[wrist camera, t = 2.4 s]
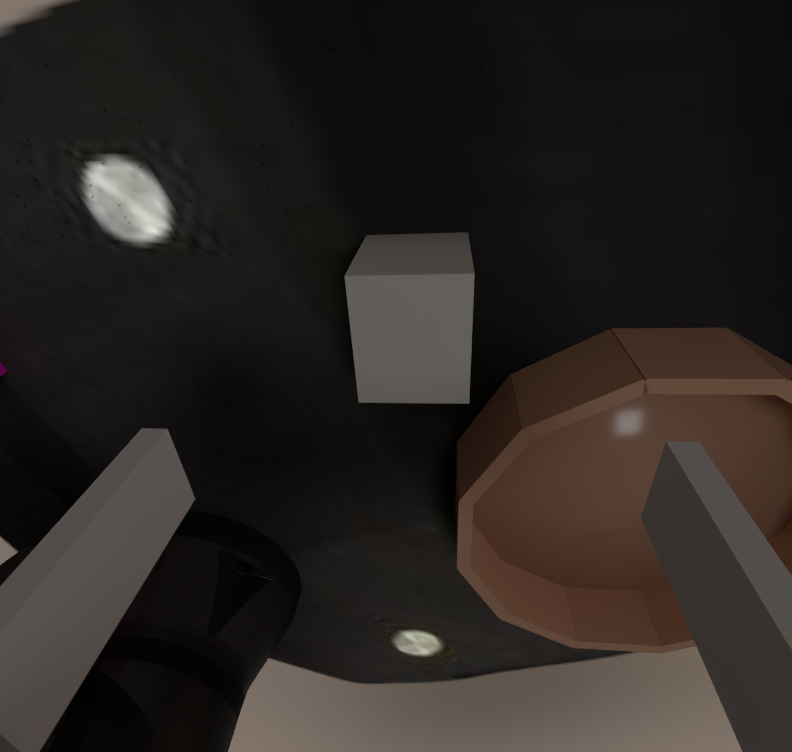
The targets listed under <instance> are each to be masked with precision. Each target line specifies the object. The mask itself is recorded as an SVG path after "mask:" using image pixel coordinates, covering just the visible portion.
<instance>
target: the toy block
mask: <svg viewBox="0 0 792 752" xmlns="http://www.w3.org/2000/svg"><path fill="white" fill-rule="evenodd" d="M6 372H7V370H6V369H5V368H4V366H3V365H2V364H1V362H0V376H2V375H3V374H5V373H6Z"/></svg>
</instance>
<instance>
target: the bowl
mask: <svg viewBox="0 0 792 752" xmlns="http://www.w3.org/2000/svg"><path fill="white" fill-rule="evenodd" d="M666 441H685V442H699V443H700V444H701V445H702V447H703V448H704V450H705V451H706V453H707V454H708V456H709V457H710V458H711V460H712V461H713V463H714V464H715V466H716V467H717V469H718V470H719V471H720V473H721V474H722V476H723V477H724V479H725V480H726V482H727V483H728V484H729V486H730V487H731V489H732V490H733V492H734V493H735V495H736V496H737V498H738V499H739V500H740V502H741V503H742V505H743V506H744V508H745V509H746V511H747V512H748V513H749V515H750V516H751V518H752V519H753V521H754V522H755V524H756V525H757V526H758V528H759V529H760V531H761V532H762V534H763V535H764V537H765V538H766V539H767V541H768V542H769V544H770V545H771V547H772V548H773V550H774V551H775V552H776V554H777V555H778V557H779V558H780V560H781V561H782V563H783V564H784V566H785V567H786V568H787V570H788V571H789V573H790V574H791V576H792V365H790V364H789V363H787V362H785V361H784V360H782V359H780V358H778V357H777V356H775V355H773V354H772V353H770V352H768V351H766V350H765V349H763V348H761V347H760V346H758V345H756V344H754V343H753V342H751V341H749V340H748V339H746V338H744V337H743V336H741V335H739V334H737V333H736V332H734V331H732V330H731V329H729V328H728V329H727V328H611V330H610V329H608V330H606V331H604V332H602V333H599V334H597V335H595V336H593V337H591V338H588V339H586V340H584V341H582V342H580V343H578V344H575V345H573V346H571V347H569V348H567V349H564V350H562V351H560V352H558V353H556V354H554V355H551V356H549V357H547V358H545V359H543V360H541V361H538V362H536V363H534V364H532V365H530V366H527V367H525V368H523V369H521V370H519V371H517V372H514V373H512V374H510V376H508V377H507V378H506V380H505V381H504V382H503V384H502V385H501V386H500V387H499V389H498V390H497V391H496V392H495V394H494V395H493V396H492V398H491V399H490V400H489V401H488V403H487V404H486V405H485V406H484V408H483V409H482V410H481V412H480V413H479V414H478V415H477V417H476V418H475V419H474V421H473V422H472V423H471V424H470V426H469V427H468V428H467V429H466V431H465V432H464V433H463V435H462V436H461V437H460V438H459V440H458V441H457V452H456V496H455V515H456V555H457V570H458V571H459V572H460V573H461V574H462V575H463V577H464V578H465V579H466V580H467V581H468V582H469V584H470V585H471V586H472V587H473V588H474V589H475V591H476V592H477V593H478V594H479V595H480V596H481V598H482V599H483V600H484V601H485V602H486V603H487V605H488V606H489V607H490V608H491V609H492V611H493V612H494V613H495V614H496V615H497V616H498V618H499V619H501V620H504V621H506V622H509V623H511V624H514V625H516V626H519V627H521V628H524V629H526V630H529V631H531V632H534V633H536V634H539V635H541V636H544V637H546V638H549V639H551V640H554V641H556V642H559V643H561V644H564V645H566V646H569V647H572V648H585V649H601V650H618V651H634V652H650V653H661V652H662V653H665V652H669V651H674V650H680V649H684V648H689V647H694V646H696V644H695V641H694V639H693V637H692V634H691V632H690V630H689V628H688V625H687V623H686V621H685V618H684V616H683V614H682V611H681V609H680V607H679V605H678V602H677V600H676V598H675V595H674V593H673V591H672V589H671V586H670V584H669V582H668V579H667V577H666V575H665V572H664V570H663V568H662V566H661V563H660V561H659V559H658V556H657V554H656V552H655V550H654V547H653V545H652V543H651V540H650V538H649V536H648V533H647V531H646V529H645V527H644V524H643V522H642V520H641V515H642V512H643V509H644V506H645V503H646V500H647V497H648V494H649V491H650V488H651V485H652V482H653V479H654V476H655V473H656V470H657V467H658V463H659V460H660V457H661V454H662V451H663V448H664V445H665V442H666Z"/></svg>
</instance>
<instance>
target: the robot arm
mask: <svg viewBox="0 0 792 752" xmlns="http://www.w3.org/2000/svg"><path fill="white" fill-rule="evenodd" d="M194 500H195V497H194V495H193V492H192V489H191V487H190V484H189V482H188V479H187V477H186V474H185V472H184V469H183V467H182V464H181V462H180V459H179V457H178V454H177V452H176V449H175V447H174V444H173V442H172V439H171V437H170V434H169V431H168V429H147V428H142V429H141V430H140V431H139V432H138V433H137V434H136V436H135V437H134V438H133V439H132V440H131V441H130V442H129V443H128V444H127V446H126V447H125V448H124V449H123V450H122V451H121V452H120V453H119V455H118V456H117V457H116V458H115V459H114V460H113V461H112V462H111V463H110V465H109V466H108V467H107V468H106V469H105V470H104V471H103V472H102V473H101V475H100V476H99V477H98V478H97V479H96V480H95V481H94V482H93V484H92V485H91V486H90V487H89V488H88V489H87V490H86V491H85V492H84V494H83V495H82V496H81V497H80V498H79V499H78V500H77V501H76V502H75V504H74V505H73V506H72V507H71V508H70V509H69V510H68V511H67V513H66V514H65V515H64V516H63V517H62V518H61V519H60V520H59V521H58V523H57V524H56V525H55V526H54V527H53V528H52V529H51V530H50V531H49V533H48V534H47V535H46V536H45V537H44V538H43V539H42V540H41V542H40V543H39V544H38V545H37V546H26V547H25V548H23V549H22V550H21V551H19V552H18V553H17V554H15V555H14V556H12V557H11V558H10V559H8V560H7V561H5V562H4V563H3V564H1V565H0V752H228V749H229V746H230V743H231V740H232V737H233V734H234V730H235V727H236V723H237V720H238V717H239V714H240V711H241V708H242V705H243V702H244V699H245V697H246V694H247V691H248V689H249V687H250V685H251V684H252V682H253V681H254V679H255V678H256V676H257V675H258V673H259V671H260V670H261V668H262V667H263V665H264V664H265V663H266V661H267V659H268V658H269V656H270V655H271V653H272V652H273V650H274V649H275V647H276V646H277V644H278V643H279V641H280V640H281V638H282V637H283V635H284V634H285V632H286V631H287V629H288V627H289V626H290V624H291V622H292V620H293V618H294V615H295V611H296V608H297V604H298V601H299V597H300V594H301V579H300V576H299V573H298V570H297V568H296V566H295V565H294V563H293V561H292V560H291V559H290V557H289V556H288V555H287V554H286V553H285V552H284V551H283V550H282V549H281V548H280V547H279V546H278V545H277V544H276V543H274V542H273V541H272V540H270V539H269V538H268V537H266V536H265V535H263V534H261V533H260V532H258V531H256V530H254V529H252V528H250V527H248V526H246V525H244V524H242V523H239V522H237V521H234V520H231V519H228V518H225V517H221V516H217V515H213V514H208V513H201V512H190V511H188V510H189V508H190V507H191V505H192V503H193V502H194ZM641 520H642V522H643V524H644V527H645V529H646V531H647V533H648V536H649V538H650V540H651V543H652V545H653V547H654V550H655V552H656V554H657V556H658V559H659V561H660V563H661V566H662V568H663V570H664V572H665V575H666V577H667V579H668V582H669V584H670V586H671V589H672V591H673V593H674V595H675V598H676V600H677V602H678V605H679V607H680V609H681V611H682V614H683V616H684V618H685V621H686V623H687V625H688V628H689V630H690V632H691V634H692V637H693V639H694V641H695V644H696V646H697V648H698V650H699V653H700V655H701V657H702V659H703V662H704V664H705V666H706V669H707V671H708V673H709V676H710V678H711V680H712V683H713V685H714V687H715V689H716V692H717V694H718V696H719V699H720V701H721V703H722V706H723V708H724V710H725V712H726V714H727V717H728V719H729V721H730V723H731V726H732V728H733V731H734V733H735V735H736V737H737V740H738V742H739V745H740V747H741V749H742V751H743V752H792V576H791V574H790V573H789V571H788V570H787V568H786V567H785V566H784V564H783V563H782V561H781V560H780V558H779V557H778V555H777V554H776V552H775V551H774V550H773V548H772V547H771V545H770V544H769V542H768V541H767V539H766V538H765V537H764V535H763V534H762V532H761V531H760V529H759V528H758V526H757V525H756V524H755V522H754V521H753V519H752V518H751V516H750V515H749V513H748V512H747V511H746V509H745V508H744V506H743V505H742V503H741V502H740V500H739V499H738V498H737V496H736V495H735V493H734V492H733V490H732V489H731V487H730V486H729V484H728V483H727V482H726V480H725V479H724V477H723V476H722V474H721V473H720V471H719V470H718V469H717V467H716V466H715V464H714V463H713V461H712V460H711V458H710V457H709V456H708V454H707V453H706V451H705V450H704V448H703V447H702V445H701V444H700V443H699V442H685V441H666V442H665V445H664V448H663V451H662V454H661V457H660V460H659V463H658V467H657V470H656V473H655V476H654V479H653V482H652V485H651V488H650V491H649V494H648V497H647V500H646V503H645V506H644V509H643V512H642V515H641Z"/></svg>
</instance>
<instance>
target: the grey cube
mask: <svg viewBox="0 0 792 752" xmlns="http://www.w3.org/2000/svg"><path fill="white" fill-rule="evenodd" d="M345 285H346V294H347V303H348V312H349V321H350V329H351V338H352V347H353V356H354V365H355V374H356V383H357V392H358V401H359V403H454V404H469V398H470V373H471V347H472V322H473V296H474V268H473V262H472V256H471V250H470V243H469V237H468V233H432V234H396V235H366V237H365V239H364V240H363V242H362V244H361V246H360V248H359V250H358V252H357V254H356V255H355V257H354V259H353V261H352V263H351V265H350V267H349V269H348V270H347V272H346V274H345Z"/></svg>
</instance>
